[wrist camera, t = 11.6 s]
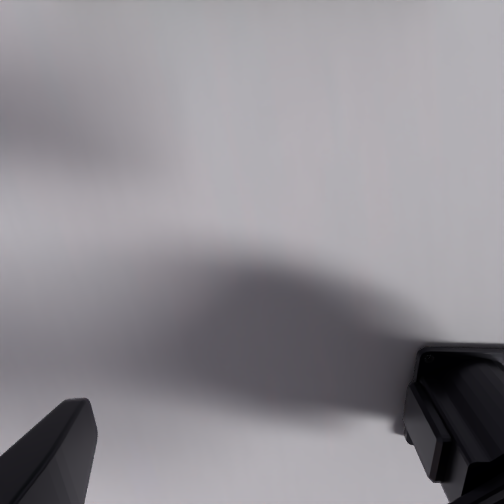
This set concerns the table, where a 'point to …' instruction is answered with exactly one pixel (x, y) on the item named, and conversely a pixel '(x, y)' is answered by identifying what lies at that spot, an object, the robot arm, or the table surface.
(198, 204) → the table surface
